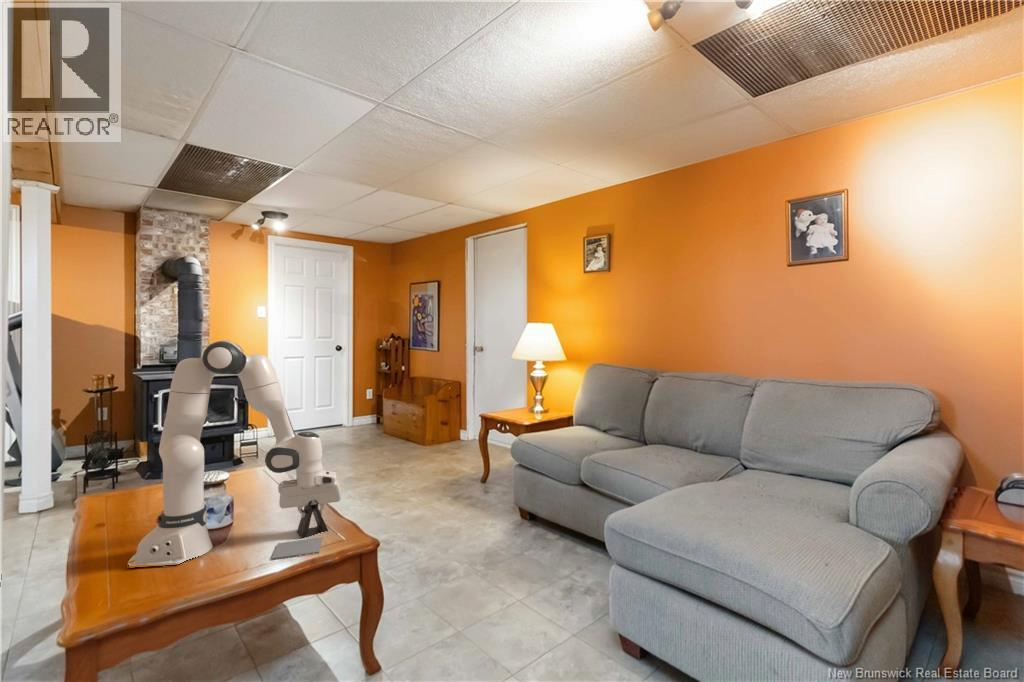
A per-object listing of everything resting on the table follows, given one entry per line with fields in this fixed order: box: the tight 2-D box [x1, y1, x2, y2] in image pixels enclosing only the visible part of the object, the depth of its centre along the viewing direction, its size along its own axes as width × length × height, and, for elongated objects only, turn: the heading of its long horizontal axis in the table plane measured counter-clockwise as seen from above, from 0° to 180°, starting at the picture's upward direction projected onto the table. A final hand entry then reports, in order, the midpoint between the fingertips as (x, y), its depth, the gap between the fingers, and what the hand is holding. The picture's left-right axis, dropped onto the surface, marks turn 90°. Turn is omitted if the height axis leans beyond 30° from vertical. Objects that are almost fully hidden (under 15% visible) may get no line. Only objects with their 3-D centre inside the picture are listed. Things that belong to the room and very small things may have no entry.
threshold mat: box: [270, 536, 323, 561], centre depth 161 cm, size 14×11×1 cm
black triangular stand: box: [296, 500, 329, 539], centre depth 173 cm, size 9×6×12 cm, turn 128°
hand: (311, 516), depth 173 cm, fingers closed on black triangular stand, 4 cm apart
